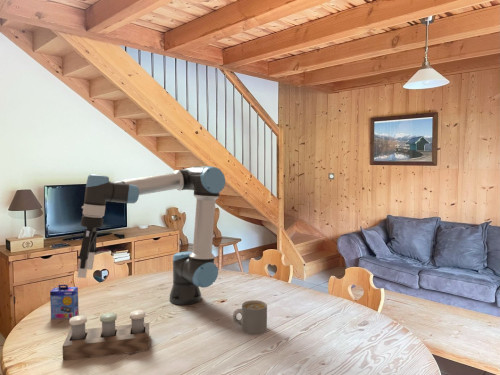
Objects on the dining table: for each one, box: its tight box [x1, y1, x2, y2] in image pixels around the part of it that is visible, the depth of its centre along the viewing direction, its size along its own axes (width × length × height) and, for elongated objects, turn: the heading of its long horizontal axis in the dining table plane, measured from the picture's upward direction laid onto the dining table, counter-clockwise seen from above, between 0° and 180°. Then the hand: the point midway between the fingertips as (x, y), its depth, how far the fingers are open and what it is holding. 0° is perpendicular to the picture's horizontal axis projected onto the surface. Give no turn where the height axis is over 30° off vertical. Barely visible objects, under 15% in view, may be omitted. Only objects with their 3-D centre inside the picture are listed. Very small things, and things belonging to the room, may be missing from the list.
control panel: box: [61, 322, 150, 361], centre depth 136 cm, size 28×12×5 cm, turn 105°
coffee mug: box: [232, 299, 268, 336], centre depth 151 cm, size 13×10×10 cm
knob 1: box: [68, 314, 88, 340], centre depth 133 cm, size 6×6×7 cm
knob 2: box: [129, 309, 147, 334], centre depth 138 cm, size 6×6×7 cm
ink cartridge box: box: [49, 284, 80, 320], centre depth 162 cm, size 10×6×14 cm, turn 95°
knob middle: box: [99, 312, 118, 337], centre depth 136 cm, size 6×6×7 cm
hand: (85, 273), depth 140 cm, fingers open, 13 cm apart
